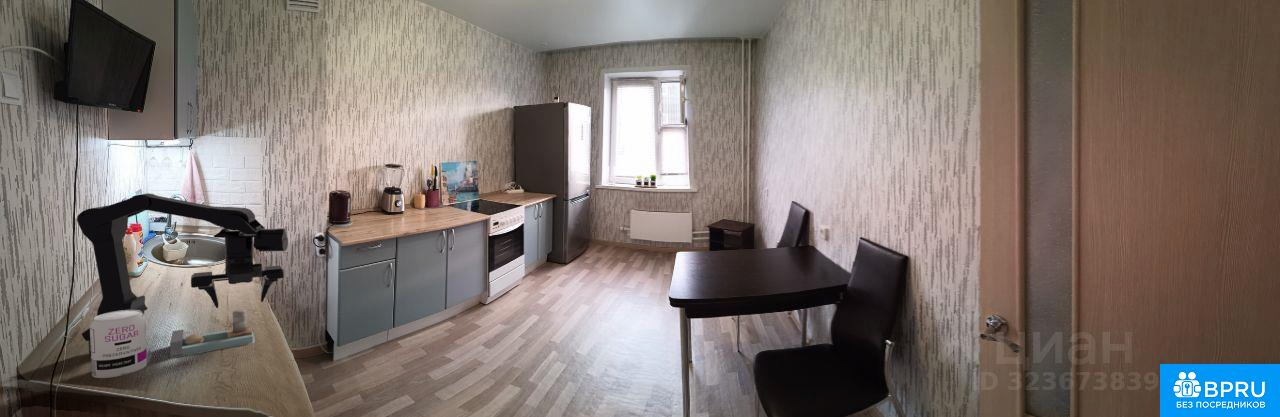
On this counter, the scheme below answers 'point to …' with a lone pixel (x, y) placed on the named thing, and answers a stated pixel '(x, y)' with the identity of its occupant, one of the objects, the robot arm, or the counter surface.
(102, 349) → the supplement can
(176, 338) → the grey angular block
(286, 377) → the counter surface
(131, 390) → the counter surface
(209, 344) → the board
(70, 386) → the counter surface
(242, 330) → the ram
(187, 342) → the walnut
